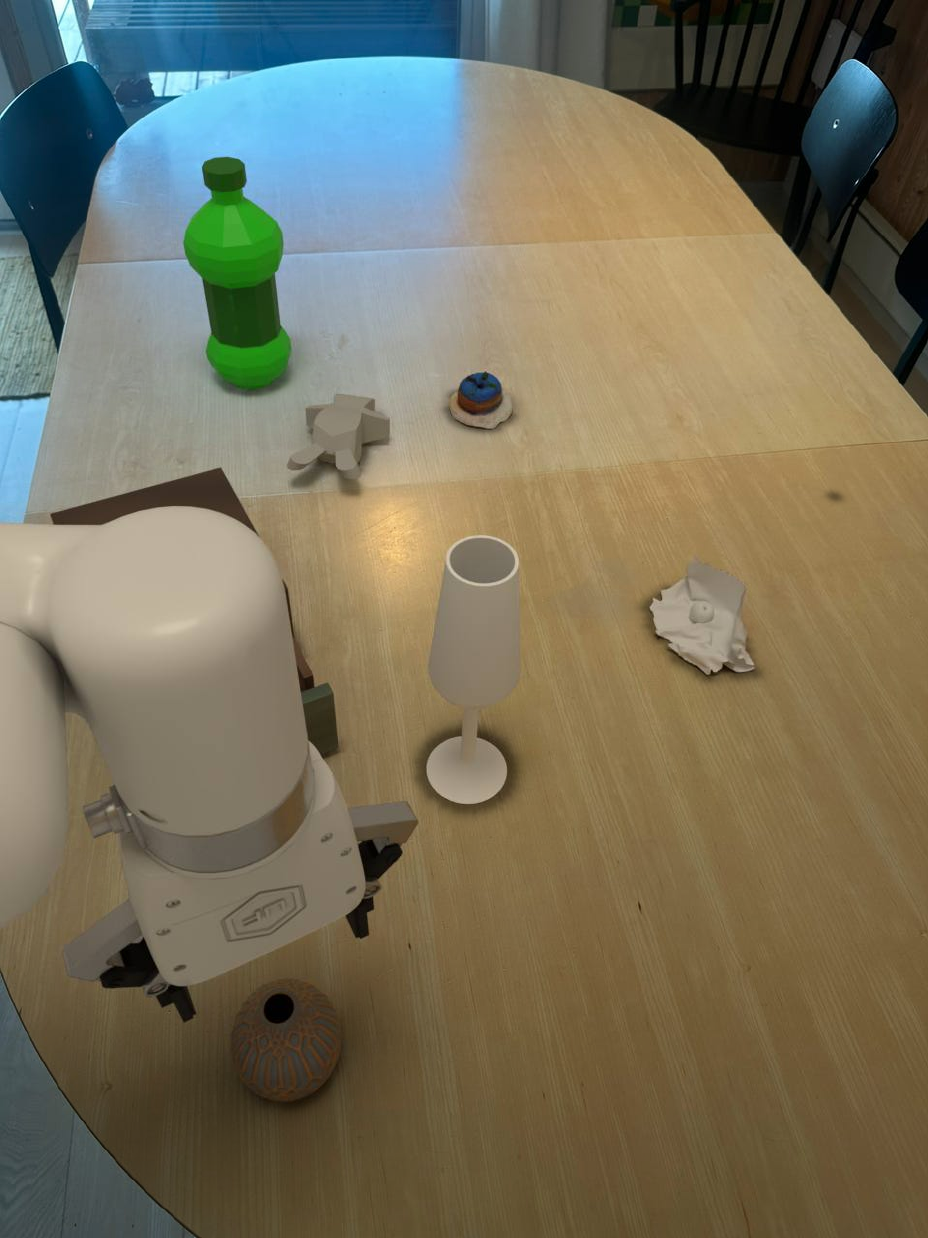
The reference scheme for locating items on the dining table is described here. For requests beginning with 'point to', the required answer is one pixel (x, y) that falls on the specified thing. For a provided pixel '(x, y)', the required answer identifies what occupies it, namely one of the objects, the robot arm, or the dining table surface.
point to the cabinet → (166, 504)
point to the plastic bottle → (238, 278)
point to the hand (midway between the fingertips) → (269, 953)
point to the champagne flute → (474, 661)
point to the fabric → (705, 619)
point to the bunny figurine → (341, 433)
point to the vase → (286, 1039)
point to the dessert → (481, 401)
